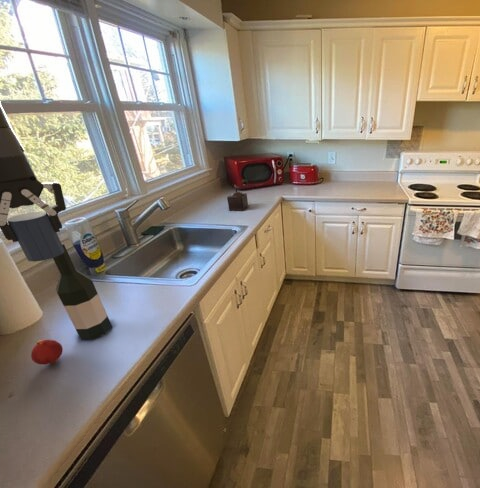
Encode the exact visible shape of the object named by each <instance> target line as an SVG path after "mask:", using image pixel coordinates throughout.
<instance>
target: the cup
mask: <svg viewBox="0 0 480 488" xmlns="http://www.w3.org/2000/svg"><path fill="white" fill-rule="evenodd" d="M7 222H8V223H9V225H10V227H11V229H12V231H13V232H14V234H15V236H16V238H17V240H18V241H17V243H18V244H19V246H20V248H21V250H22V252H23V254H24V255H25V258H26V259H27V261H28V262H34V263H35V262H43V261H47V260H50V259H53V258H54V257H56V256H59V255H61V254H62V253H63V252H65V250H64V248H63V246H62V244H61V243H62V242H61V240H60V237H59V235H58V232H56V231H55V229H54V227H53V224H52V222H51V220H50V218H49V215H48V213H47V212H45V211H33V212H25V213H21V214H17V215H13V216H11V217H9V218H7Z"/></svg>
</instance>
